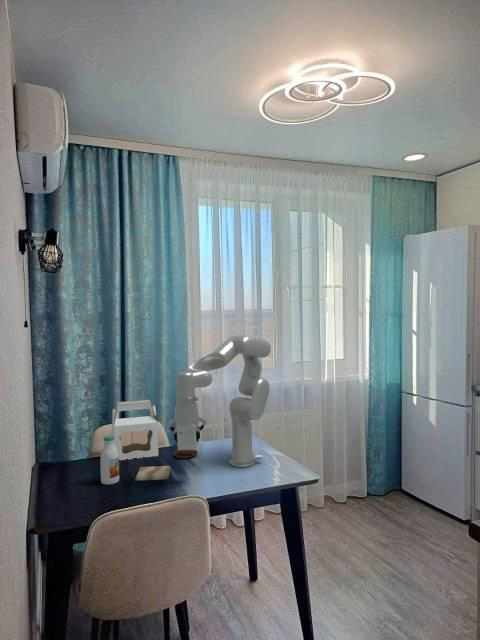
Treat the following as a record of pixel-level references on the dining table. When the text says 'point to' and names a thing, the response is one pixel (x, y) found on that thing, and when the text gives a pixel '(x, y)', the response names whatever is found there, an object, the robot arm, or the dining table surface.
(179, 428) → the small box
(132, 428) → the gable box
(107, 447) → the milk bottle
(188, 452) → the cup and saucer
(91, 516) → the dining table surface
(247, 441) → the robot arm
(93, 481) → the dining table surface
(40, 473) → the dining table surface
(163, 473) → the oak board
